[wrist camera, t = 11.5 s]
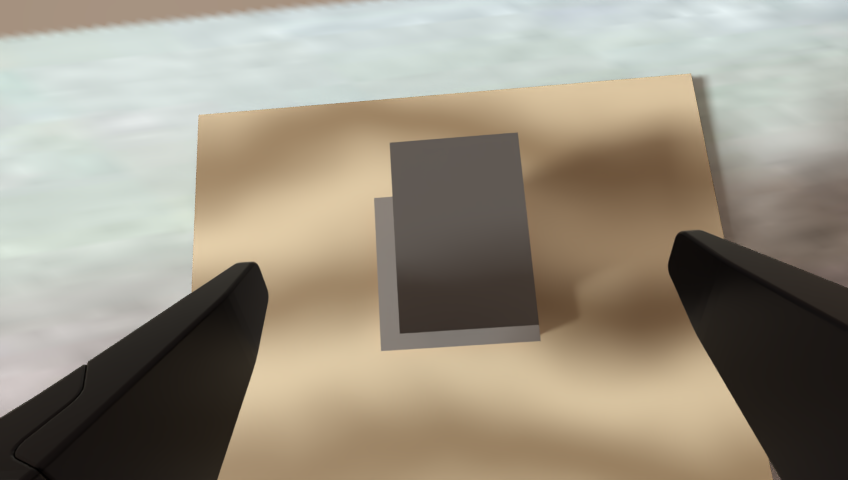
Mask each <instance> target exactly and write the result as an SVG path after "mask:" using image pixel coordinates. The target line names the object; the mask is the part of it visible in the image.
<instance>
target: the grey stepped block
mask: <svg viewBox="0 0 848 480" xmlns="http://www.w3.org/2000/svg"><path fill="white" fill-rule="evenodd" d="M390 160H391V179H392V197H381V198H374V208H375V230H376V252H377V274H378V296H379V318H380V340H381V351H392V350H408V349H423V348H439V347H455V346H471V345H487V344H502V343H518V342H534V341H541V338H540V329H539V319H538V310H537V301H536V292H535V283H534V274H533V265H532V256H531V247H530V238H529V229H528V220H527V210H526V201H525V192H524V183H523V174H522V165H521V156H520V147H519V138H518V132H516V133H503V134H491V135H478V136H466V137H453V138H441V139H428V140H416V141H404V142H391V143H390Z"/></svg>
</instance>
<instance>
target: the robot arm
mask: <svg viewBox="0 0 848 480" xmlns="http://www.w3.org/2000/svg"><path fill="white" fill-rule="evenodd" d="M668 272H669V275H670V277H671V280H672V282H673V284H674V286H675V289H676V291H677V293H678V295H679V298H680V300H681V302H682V305H683V307H684V309H685V311H686V314H687V316H688V318H689V320H690V323H691V325H692V327H693V329H694V331H695V333H696V335H697V337H698V339H699V340H700V342H701V344H702V346H703V347H704V349H705V351H706V353H707V354H708V356H709V358H710V359H711V361H712V363H713V364H714V366H715V368H716V370H717V371H718V373H719V375H720V376H721V378H722V380H723V382H724V383H725V385H726V387H727V388H728V390H729V392H730V393H731V395H732V397H733V399H734V400H735V402H736V404H737V405H738V407H739V409H740V411H741V412H742V414H743V416H744V417H745V419H746V421H747V422H748V424H749V426H750V428H751V429H752V431H753V433H754V434H755V436H756V438H757V440H758V441H759V443H760V445H761V446H762V448H763V450H764V451H765V453H766V455H767V457H768V458H769V460H770V462H771V463H772V465H773V467H774V469H775V470H776V472H777V474H778V475H779V477H780V479H781V480H848V288H847V287H844V286H842V285H839V284H837V283H834V282H832V281H829V280H826V279H824V278H821V277H819V276H816V275H814V274H811V273H809V272H806V271H804V270H801V269H799V268H796V267H794V266H791V265H789V264H786V263H783V262H781V261H778V260H776V259H773V258H771V257H768V256H766V255H763V254H761V253H758V252H756V251H753V250H751V249H748V248H746V247H743V246H740V245H738V244H735V243H733V242H730V241H728V240H725V239H723V238H720V237H718V236H715V235H713V234H710V233H708V232H705V231H702V230H686V231H680V232H679V233H678V234H677V235H676V237H675V240H674V243H673V247H672V250H671V254H670V257H669V261H668ZM268 300H269V294H268V289H267V286H266V284H265V281H264V278H263V275H262V273H261V270H260V267H259V265H258V264H257V263H256V262H238V263H236V264H234V265H232V266H231V267H229V268H228V269H226V270H225V271H223V272H222V273H220V274H219V275H217V276H216V277H214V278H213V279H211V280H210V281H208V282H207V283H205V284H204V285H202V286H201V287H199V288H198V289H196V290H195V291H193V292H192V293H190V294H189V295H187V296H186V297H184V298H183V299H181V300H180V301H178V302H177V303H175V304H174V305H172V306H171V307H169V308H168V309H166V310H165V311H163V312H162V313H160V314H159V315H157V316H156V317H154V318H153V319H151V320H150V321H148V322H147V323H145V324H144V325H142V326H141V327H139V328H138V329H136V330H135V331H133V332H132V333H130V334H129V335H127V336H126V337H124V338H123V339H121V340H120V341H118V342H117V343H115V344H114V345H112V346H111V347H109V348H108V349H106V350H105V351H103V352H102V353H100V354H99V355H97V356H96V357H94V358H93V359H91V360H90V361H88V363H87V365H82V366H81V367H79V368H78V369H76V370H75V371H73V372H72V373H70V374H69V375H67V376H66V377H64V378H63V379H61V380H60V381H58V382H57V383H55V384H53V385H52V386H50V387H49V388H47V389H46V390H44V391H43V392H41V393H40V394H38V395H36V396H35V397H33V398H32V399H30V400H28V401H27V402H25V403H24V404H22V405H20V406H19V407H17V408H15V409H14V410H12V411H10V412H9V413H7V414H6V415H4V416H2V417H1V418H0V480H217V479H218V476H219V473H220V470H221V467H222V464H223V461H224V458H225V455H226V452H227V449H228V446H229V443H230V440H231V437H232V434H233V431H234V428H235V425H236V422H237V419H238V415H239V412H240V409H241V406H242V403H243V400H244V397H245V394H246V391H247V388H248V385H249V382H250V379H251V376H252V373H253V370H254V366H255V363H256V359H257V355H258V351H259V346H260V341H261V336H262V331H263V326H264V321H265V316H266V311H267V306H268Z"/></svg>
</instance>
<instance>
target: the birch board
mask: <svg viewBox="0 0 848 480" xmlns="http://www.w3.org/2000/svg"><path fill="white" fill-rule="evenodd" d="M516 132H518V138H519V147H520V156H521V165H522V174H523V183H524V192H525V201H526V210H527V220H528V229H529V238H530V247H531V256H532V265H533V274H534V283H535V292H536V301H537V310H538V319H539V329H540V338H541V341H534V342H518V343H502V344H487V345H471V346H455V347H439V348H423V349H408V350H392V351H381V340H380V318H379V296H378V274H377V252H376V230H375V208H374V198H381V197H392V179H391V160H390V143H391V142H404V141H416V140H428V139H441V138H453V137H466V136H478V135H491V134H503V133H516ZM686 230H702V231H705V232H708V233H710V234H713V235H715V236H718V237H720V238H723V239H724V235H723V230H722V225H721V220H720V216H719V211H718V206H717V201H716V196H715V191H714V186H713V181H712V176H711V171H710V166H709V161H708V156H707V151H706V146H705V141H704V136H703V131H702V126H701V121H700V116H699V112H698V107H697V102H696V97H695V92H694V87H693V82H692V77H691V74H681V75H669V76H657V77H645V78H633V79H621V80H609V81H597V82H586V83H574V84H562V85H550V86H538V87H526V88H514V89H502V90H490V91H479V92H467V93H455V94H443V95H431V96H419V97H407V98H395V99H383V100H372V101H360V102H348V103H336V104H324V105H312V106H300V107H288V108H276V109H265V110H253V111H241V112H229V113H217V114H205V115H199V120H198V145H197V170H196V195H195V220H194V245H193V270H192V292H193V291H195V290H196V289H198V288H199V287H201V286H202V285H204V284H205V283H207V282H208V281H210V280H211V279H213V278H214V277H216V276H217V275H219V274H220V273H222V272H223V271H225V270H226V269H228V268H229V267H231V266H232V265H234V264H236V263H238V262H256V263H257V264H258V265H259V267H260V270H261V273H262V275H263V278H264V281H265V284H266V286H267V289H268V294H269V300H268V306H267V311H266V316H265V321H264V326H263V331H262V336H261V341H260V346H259V351H258V355H257V359H256V363H255V366H254V370H253V373H252V376H251V379H250V382H249V385H248V388H247V391H246V394H245V397H244V400H243V403H242V406H241V409H240V412H239V415H238V419H237V422H236V425H235V428H234V431H233V434H232V437H231V440H230V443H229V446H228V449H227V452H226V455H225V458H224V461H223V464H222V467H221V470H220V473H219V476H218V479H217V480H773V478H772V473H771V468H770V463H769V458H768V457H767V455H766V453H765V451H764V450H763V448H762V446H761V445H760V443H759V441H758V440H757V438H756V436H755V434H754V433H753V431H752V429H751V428H750V426H749V424H748V422H747V421H746V419H745V417H744V416H743V414H742V412H741V411H740V409H739V407H738V405H737V404H736V402H735V400H734V399H733V397H732V395H731V393H730V392H729V390H728V388H727V387H726V385H725V383H724V382H723V380H722V378H721V376H720V375H719V373H718V371H717V370H716V368H715V366H714V364H713V363H712V361H711V359H710V358H709V356H708V354H707V353H706V351H705V349H704V347H703V346H702V344H701V342H700V340H699V339H698V337H697V335H696V333H695V331H694V329H693V327H692V325H691V323H690V320H689V318H688V316H687V314H686V311H685V309H684V307H683V305H682V302H681V300H680V298H679V295H678V293H677V291H676V289H675V286H674V284H673V282H672V280H671V277H670V275H669V272H668V261H669V257H670V254H671V250H672V247H673V243H674V240H675V237H676V235H677V234H678V233H679V232H680V231H686Z"/></svg>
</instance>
